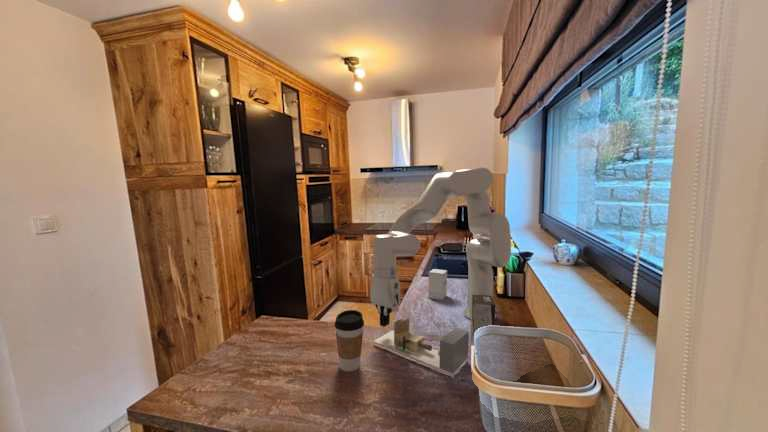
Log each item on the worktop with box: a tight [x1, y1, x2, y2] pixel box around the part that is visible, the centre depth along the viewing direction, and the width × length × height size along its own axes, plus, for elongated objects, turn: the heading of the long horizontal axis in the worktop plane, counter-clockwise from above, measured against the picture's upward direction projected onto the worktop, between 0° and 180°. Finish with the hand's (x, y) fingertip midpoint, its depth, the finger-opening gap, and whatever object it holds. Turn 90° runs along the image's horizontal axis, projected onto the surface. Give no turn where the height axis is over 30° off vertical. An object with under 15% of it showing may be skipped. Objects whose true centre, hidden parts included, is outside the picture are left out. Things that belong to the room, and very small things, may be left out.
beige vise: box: [373, 327, 470, 376], centre depth 94 cm, size 28×10×10 cm, turn 51°
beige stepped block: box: [393, 316, 433, 352], centre depth 94 cm, size 12×7×7 cm, turn 51°
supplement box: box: [427, 268, 448, 301], centre depth 144 cm, size 7×7×13 cm
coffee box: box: [470, 295, 496, 343], centre depth 97 cm, size 9×6×16 cm
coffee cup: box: [334, 309, 365, 372], centre depth 87 cm, size 8×8×15 cm
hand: (384, 324), depth 102 cm, fingers closed
